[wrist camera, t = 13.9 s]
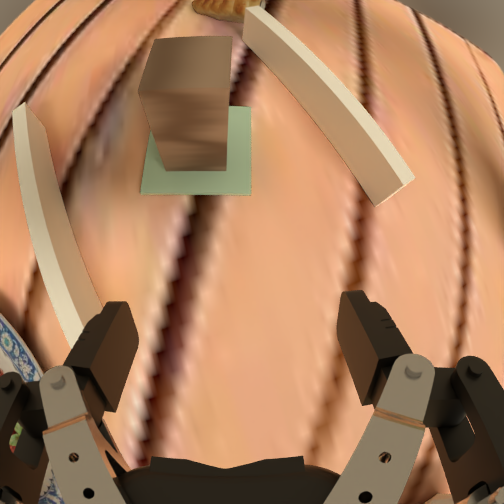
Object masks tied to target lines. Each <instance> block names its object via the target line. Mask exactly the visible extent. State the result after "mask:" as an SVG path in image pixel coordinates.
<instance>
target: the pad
mask: <svg viewBox="0 0 504 504" xmlns="http://www.w3.org/2000/svg"><path fill="white" fill-rule="evenodd" d="M140 194H141V195H243V196H251V107H242V106H229V114H228V139H227V168H226V171H166V170H165V168H164V165H163V162H162V159H161V157H160V154H159V151H158V148H157V146H156V143H155V140H154V137H153V134H152V131H151V130H150V135H149V141H148V146H147V152H146V158H145V164H144V170H143V176H142V183H141V191H140Z"/></svg>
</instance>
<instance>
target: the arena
mask: <svg viewBox="0 0 504 504" xmlns="http://www.w3.org/2000/svg"><path fill="white" fill-rule="evenodd" d="M242 41H243V42H244V43H245V44H246V45H247V46H248V47H249V48H250V49H251V50H252V51H253V52H254V53H255V54H256V55H257V56H258V57H259V58H260V59H261V60H262V61H263V62H264V63H265V64H266V65H267V66H268V68H269V69H270V70H271V71H272V72H273V73H274V74H275V75H276V76H277V77H278V79H279V80H280V81H281V82H282V83H283V84H284V85H285V86H286V88H287V89H288V90H289V91H290V92H291V93H292V95H293V96H294V97H295V98H296V99H297V101H298V102H299V103H300V104H301V105H302V107H303V108H304V109H305V110H306V111H307V113H308V114H309V115H310V116H311V118H312V119H313V120H314V121H315V123H316V124H317V125H318V127H319V128H320V129H321V130H322V132H323V133H324V134H325V136H326V137H327V138H328V140H329V141H330V142H331V144H332V145H333V146H334V148H335V149H336V150H337V152H338V153H339V155H340V156H341V157H342V159H343V160H344V162H345V163H346V164H347V166H348V167H349V169H350V170H351V172H352V173H353V175H354V176H355V177H356V179H357V180H358V182H359V183H360V185H361V186H362V188H363V189H364V191H365V192H366V194H367V196H368V197H369V199H370V200H371V202H372V203H373V205H374V207H376V206H378V205H379V204H381V203H383V202H384V201H386V200H387V199H389V198H390V197H391V196H393V195H394V194H395V193H397V192H398V191H399V190H401V189H402V188H403V187H404V186H406V185H407V184H408V183H410V182H411V181H412V180H413V179H415V176H414V175H413V173H412V172H411V170H410V169H409V167H408V166H407V164H406V163H405V161H404V160H403V158H402V157H401V156H400V154H399V153H398V151H397V150H396V148H395V147H394V146H393V144H392V143H391V142H390V140H389V139H388V138H387V136H386V135H385V134H384V132H383V131H382V130H381V128H380V127H379V126H378V125H377V123H376V122H375V121H374V119H373V118H372V117H371V116H370V115H369V113H368V112H367V111H366V110H365V108H364V107H363V106H362V105H361V104H360V102H359V101H358V100H357V99H356V98H355V97H354V96H353V94H352V93H351V92H350V91H349V90H348V89H347V88H346V87H345V85H344V84H343V83H342V82H341V81H340V80H339V79H338V78H337V77H336V76H335V75H334V74H333V72H332V71H331V70H330V69H329V68H328V67H327V66H326V65H325V64H324V63H323V62H322V61H321V60H320V59H319V58H318V57H317V56H316V55H315V54H314V53H313V52H312V51H311V50H310V49H308V48H307V47H306V46H305V45H304V44H303V43H302V42H301V41H300V40H299V39H298V38H297V37H296V36H294V35H293V34H292V33H291V32H290V31H289V30H288V29H287V28H285V27H284V26H283V25H282V24H281V23H279V22H278V21H277V20H276V19H275V18H273V17H272V16H271V15H270V14H269V13H267V12H266V11H265V10H264V9H262V8H261V7H260V6H253V7H247V8H245V17H244V27H243V37H242ZM12 114H13V133H14V145H15V155H16V163H17V170H18V177H19V184H20V190H21V195H22V200H23V206H24V210H25V215H26V220H27V224H28V228H29V232H30V236H31V240H32V244H33V247H34V251H35V254H36V258H37V261H38V265H39V268H40V271H41V274H42V277H43V280H44V283H45V286H46V289H47V292H48V294H49V297H50V300H51V303H52V305H53V308H54V310H55V313H56V315H57V318H58V320H59V323H60V325H61V327H62V330H63V332H64V334H65V337H66V339H67V341H68V343H69V345H70V348H71V349H72V348H73V346H74V344H75V342H76V341H77V340H78V337H79V336H80V334H81V333H82V331H83V329H84V327H85V325H86V324H87V322H88V321H89V320H90V319H92V318H93V317H94V316H95V315H96V314H100V313H101V311H102V309H103V307H102V305H101V303H100V300H99V298H98V296H97V293H96V291H95V289H94V287H93V284H92V282H91V279H90V277H89V274H88V272H87V269H86V267H85V264H84V262H83V259H82V257H81V254H80V251H79V248H78V246H77V243H76V240H75V237H74V234H73V231H72V228H71V225H70V222H69V219H68V216H67V213H66V210H65V206H64V203H63V200H62V196H61V193H60V189H59V185H58V181H57V178H56V174H55V170H54V165H53V161H52V157H51V152H50V148H49V143H48V138H47V132H46V128H45V127H44V126H43V124H42V123H41V122H40V121H39V119H38V118H37V117H36V116H35V114H34V113H33V112H32V110H31V109H30V108H29V107H28V105H27V104H26V103H25V102H24V103H23V104H21V105H20V106H19V107H17V108H16V109H15V110H13V111H12Z"/></svg>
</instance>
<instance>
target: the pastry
mask: <svg viewBox="0 0 504 504" xmlns="http://www.w3.org/2000/svg"><path fill="white" fill-rule="evenodd" d="M192 6H193V7H194V9H195V10H196V12H197V13H199V14H201V15H207V16H209V17H212V18H215V19H217V20H225V21H232V22H237V23H244V17H245V8H247V7H253V6H260V7H261V8H262V9H265V0H194V1H193V2H192Z"/></svg>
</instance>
